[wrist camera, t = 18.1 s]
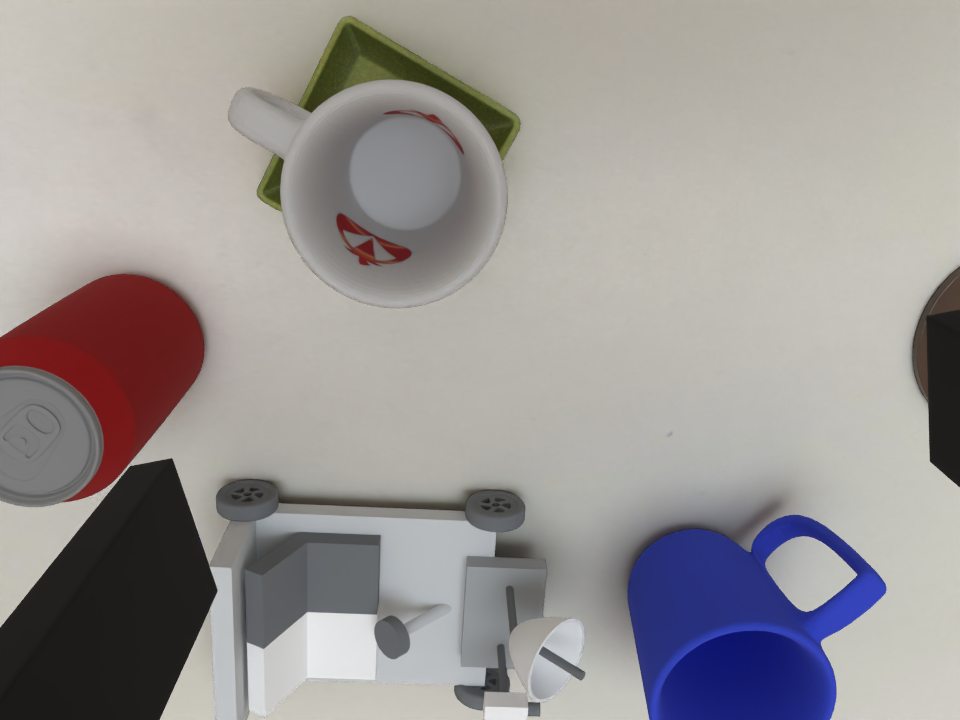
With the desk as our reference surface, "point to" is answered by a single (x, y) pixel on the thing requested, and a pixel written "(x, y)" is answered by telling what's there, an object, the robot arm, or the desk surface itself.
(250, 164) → the desk surface
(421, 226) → the cup
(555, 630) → the toy car
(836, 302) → the desk surface
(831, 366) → the desk surface
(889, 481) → the desk surface
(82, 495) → the beverage can
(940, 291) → the coaster
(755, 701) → the mug
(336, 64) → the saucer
